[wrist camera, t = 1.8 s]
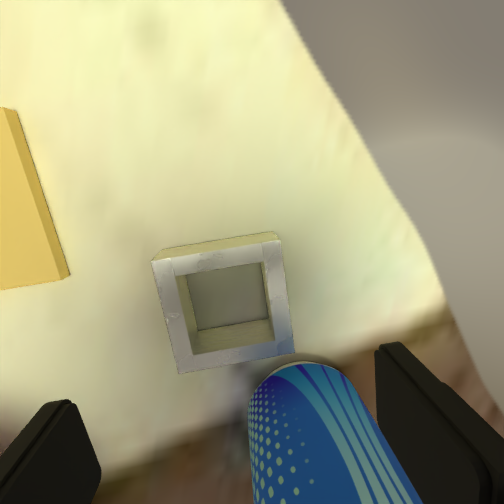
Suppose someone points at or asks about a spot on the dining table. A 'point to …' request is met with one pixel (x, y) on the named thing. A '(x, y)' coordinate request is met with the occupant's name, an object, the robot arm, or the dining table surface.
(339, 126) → the dining table surface
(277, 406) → the beer can
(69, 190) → the dining table surface
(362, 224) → the dining table surface
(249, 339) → the silver square frame
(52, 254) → the toggle switch
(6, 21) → the dining table surface
